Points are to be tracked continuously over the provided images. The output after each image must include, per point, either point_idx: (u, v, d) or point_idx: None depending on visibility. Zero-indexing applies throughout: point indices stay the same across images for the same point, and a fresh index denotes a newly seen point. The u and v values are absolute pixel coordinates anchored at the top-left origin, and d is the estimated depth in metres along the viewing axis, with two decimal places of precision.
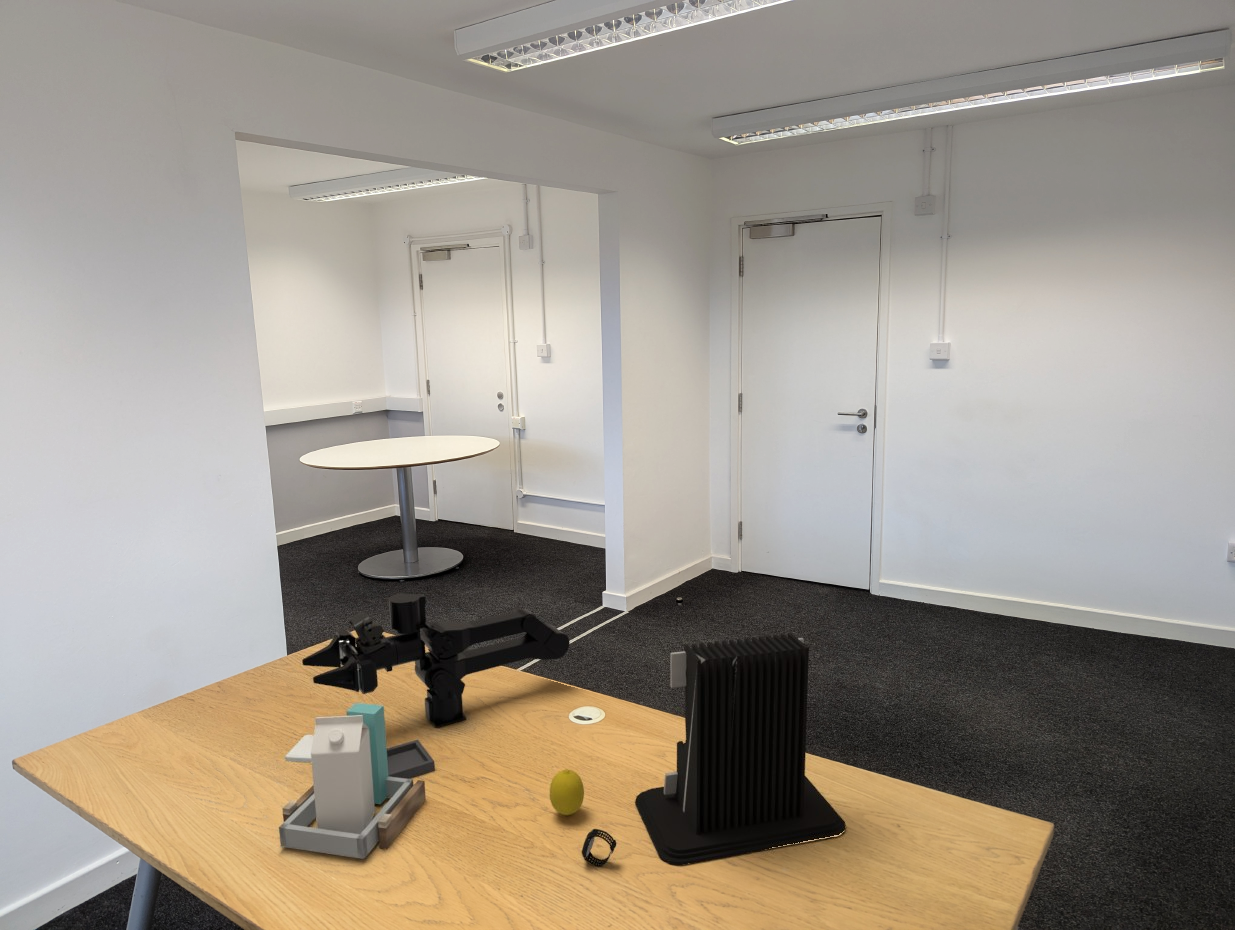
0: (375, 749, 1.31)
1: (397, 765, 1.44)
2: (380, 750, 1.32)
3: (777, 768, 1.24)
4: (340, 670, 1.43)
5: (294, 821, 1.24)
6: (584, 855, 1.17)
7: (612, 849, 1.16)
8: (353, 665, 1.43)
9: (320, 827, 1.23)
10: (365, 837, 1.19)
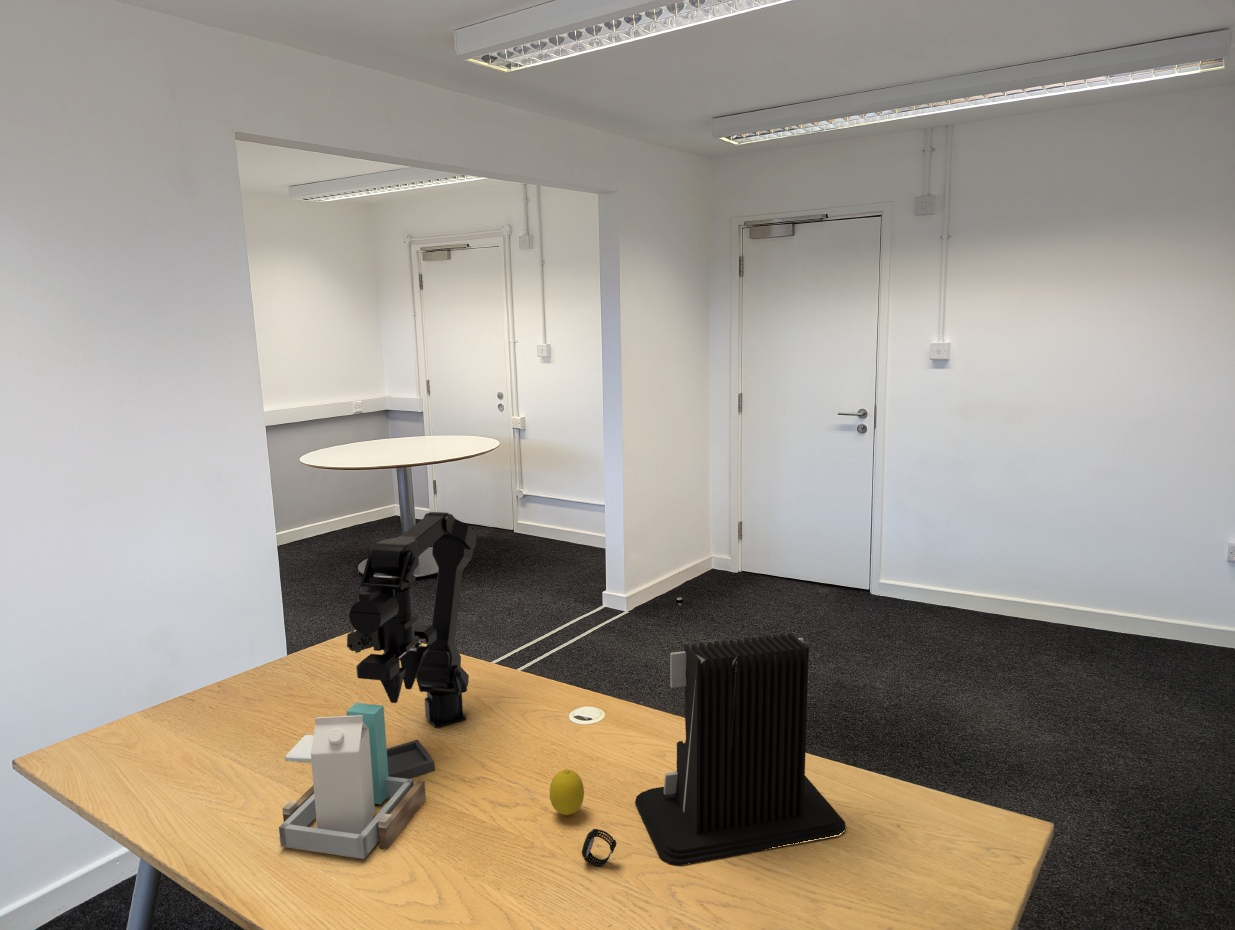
0: (375, 749, 1.31)
1: (397, 765, 1.44)
2: (380, 750, 1.32)
3: (777, 768, 1.24)
4: (381, 682, 1.39)
5: (294, 821, 1.24)
6: (584, 855, 1.17)
7: (612, 849, 1.16)
8: None
9: (320, 827, 1.23)
10: (365, 837, 1.19)
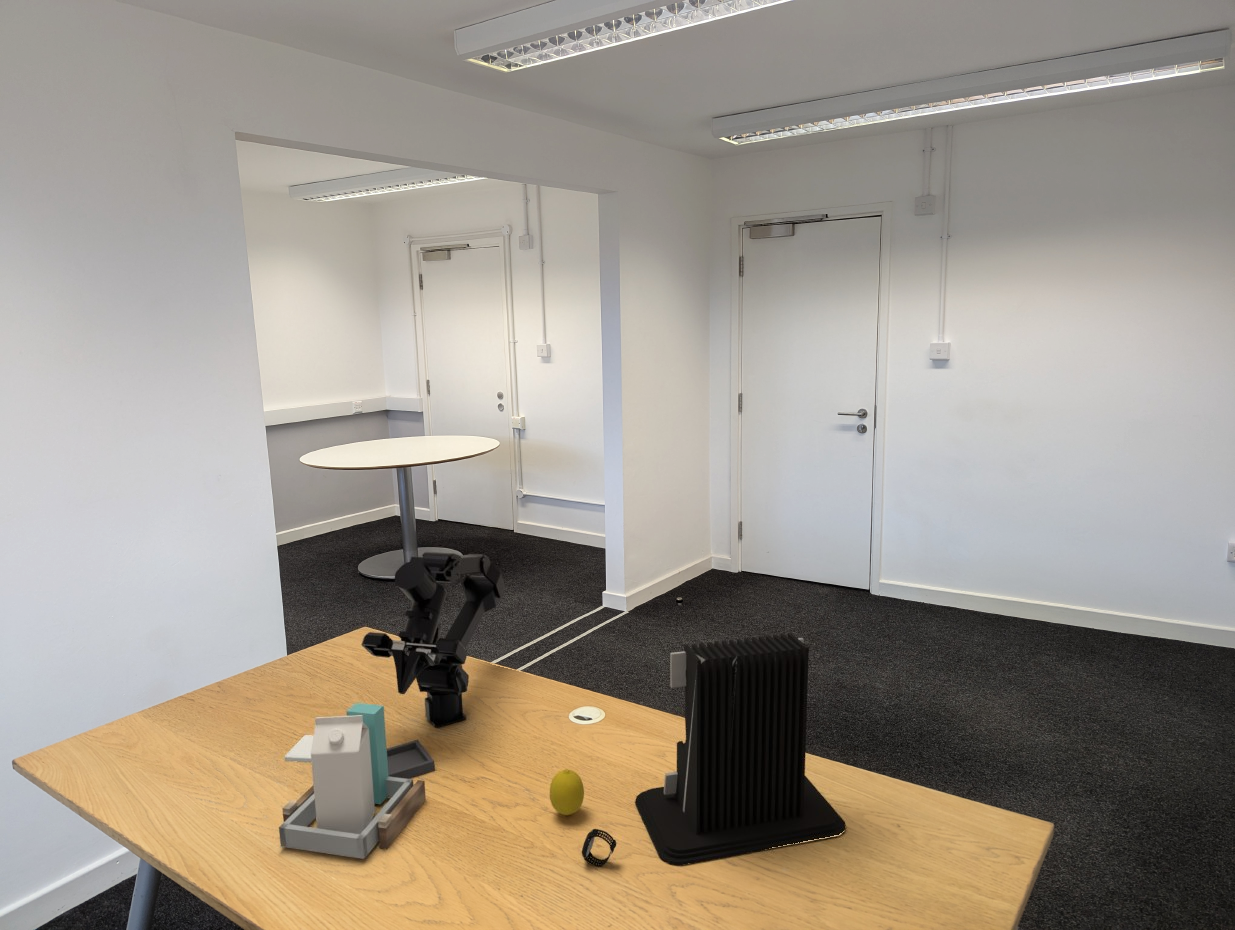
0: (375, 749, 1.31)
1: (397, 765, 1.44)
2: (380, 750, 1.32)
3: (777, 768, 1.24)
4: None
5: (294, 821, 1.24)
6: (584, 855, 1.17)
7: (612, 849, 1.16)
8: None
9: (320, 827, 1.23)
10: (365, 837, 1.19)
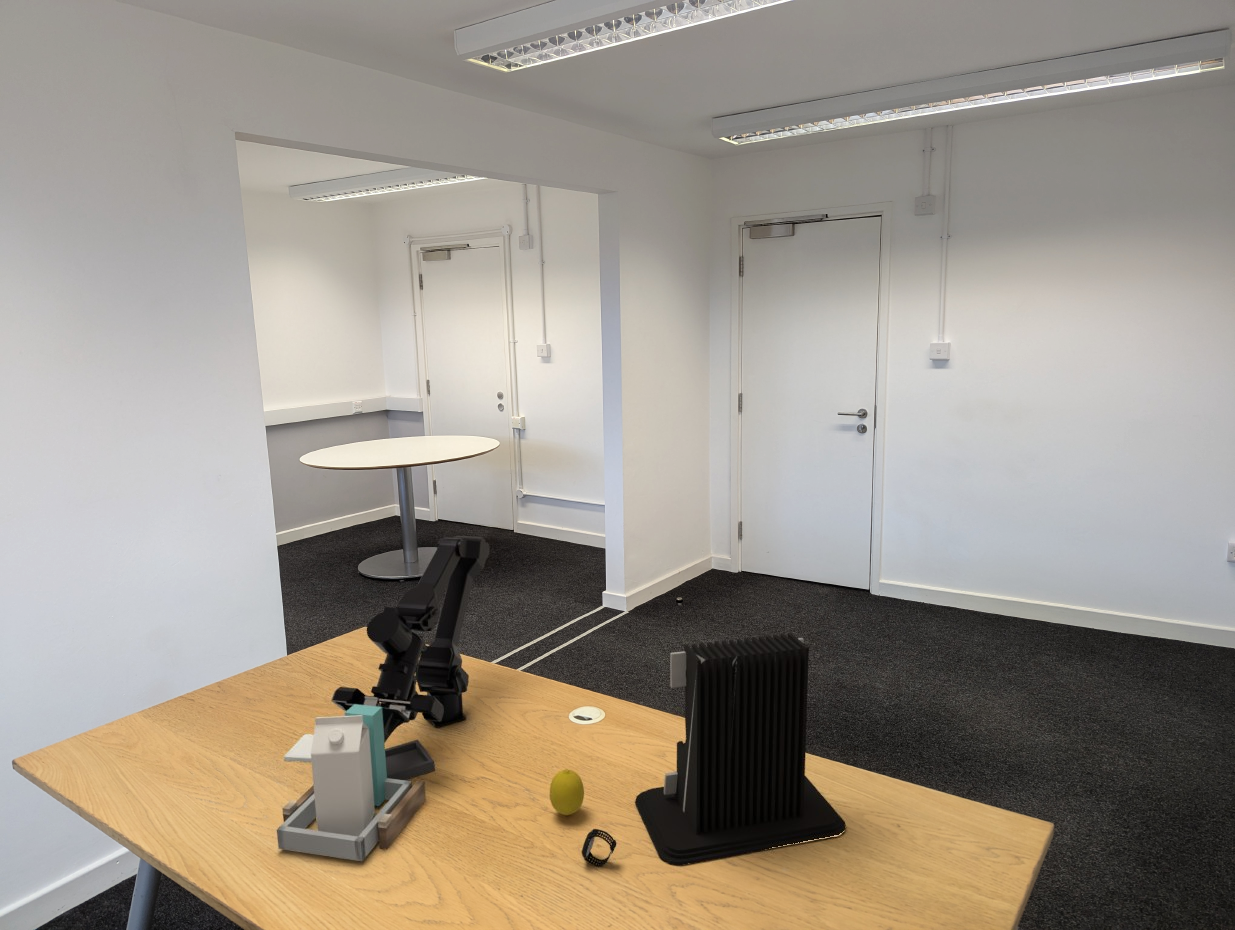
0: (373, 751, 1.30)
1: (397, 765, 1.44)
2: (378, 752, 1.31)
3: (777, 768, 1.24)
4: None
5: (292, 823, 1.23)
6: (584, 855, 1.17)
7: (612, 849, 1.16)
8: None
9: (320, 827, 1.23)
10: (363, 839, 1.19)
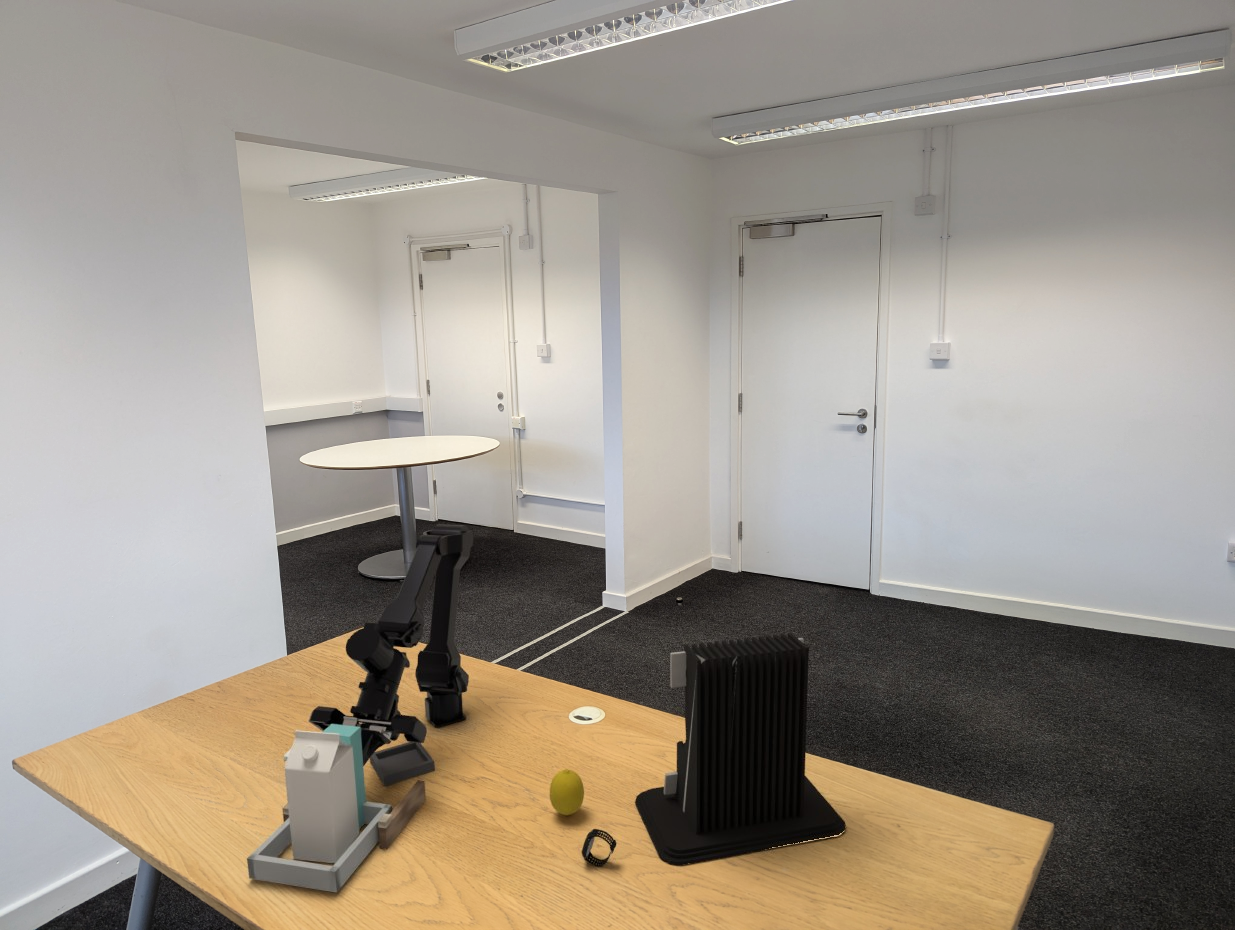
0: None
1: (397, 765, 1.44)
2: (356, 774, 1.25)
3: (777, 768, 1.24)
4: None
5: (264, 851, 1.17)
6: (584, 855, 1.17)
7: (612, 849, 1.16)
8: None
9: (294, 844, 1.19)
10: (338, 869, 1.12)
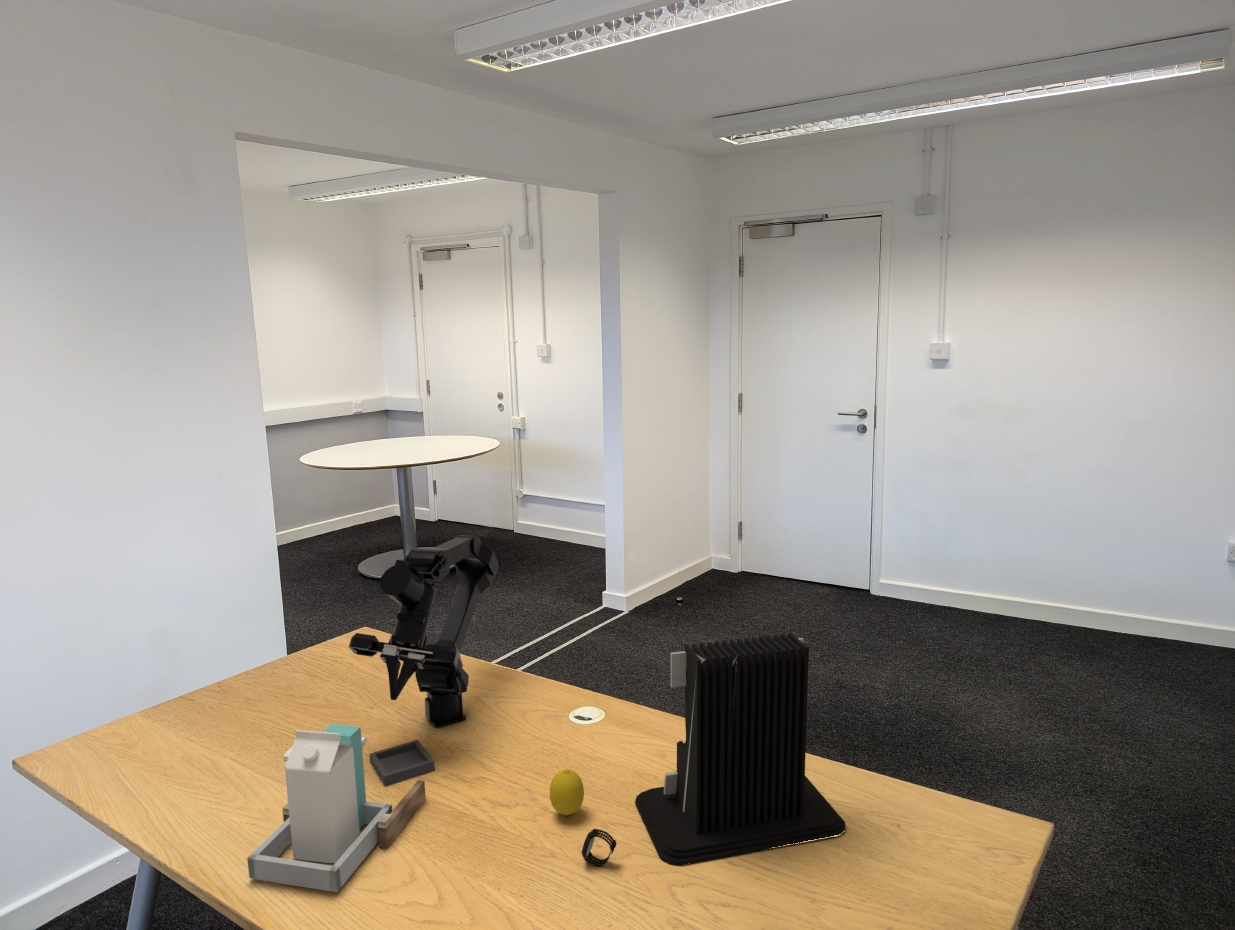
0: None
1: (397, 765, 1.44)
2: (357, 774, 1.25)
3: (777, 768, 1.24)
4: None
5: (264, 851, 1.17)
6: (584, 855, 1.17)
7: (612, 849, 1.16)
8: None
9: (294, 844, 1.19)
10: (338, 869, 1.12)
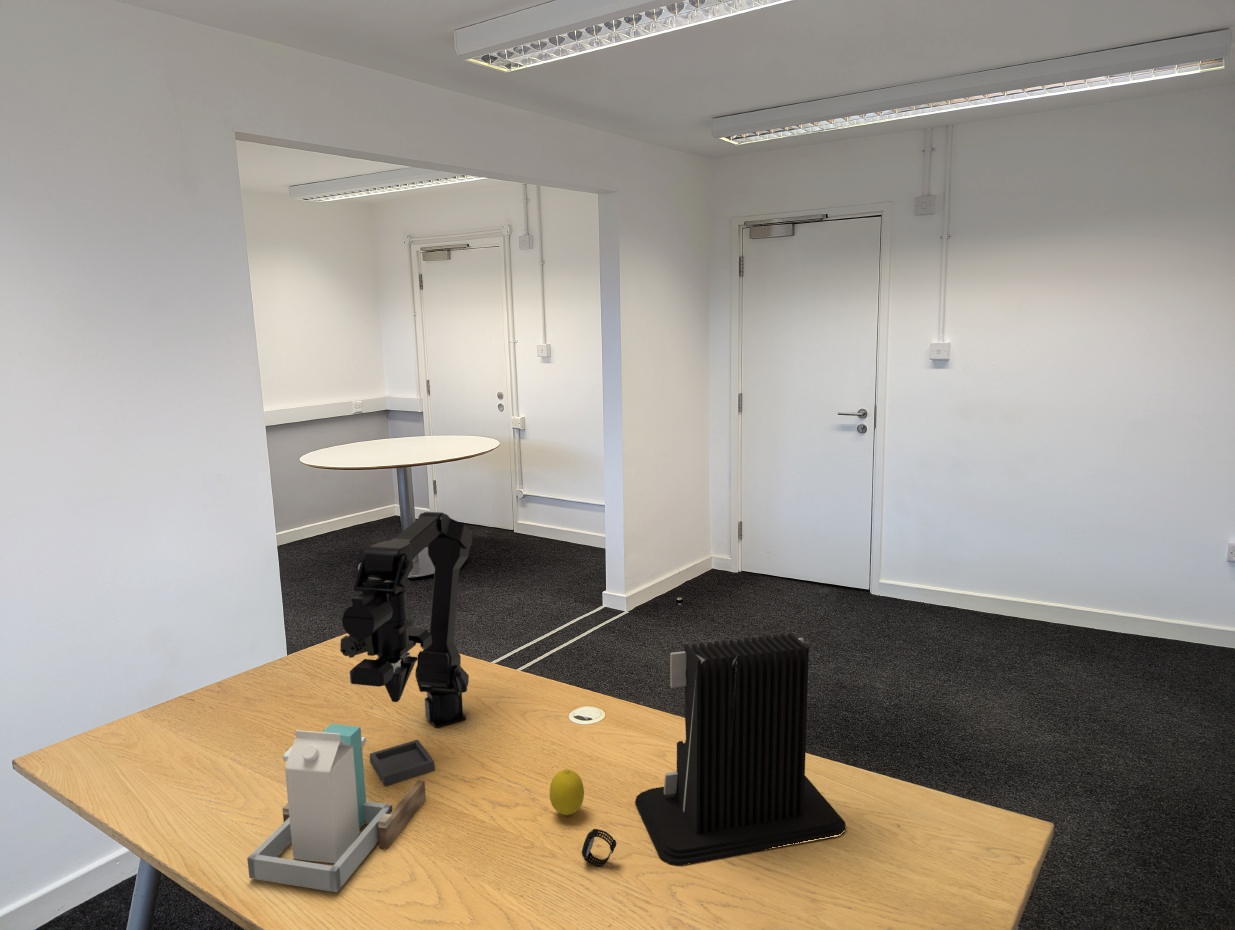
0: None
1: (397, 765, 1.44)
2: (357, 774, 1.25)
3: (777, 768, 1.24)
4: None
5: (264, 851, 1.17)
6: (584, 855, 1.17)
7: (612, 849, 1.16)
8: None
9: (294, 844, 1.19)
10: (338, 869, 1.12)
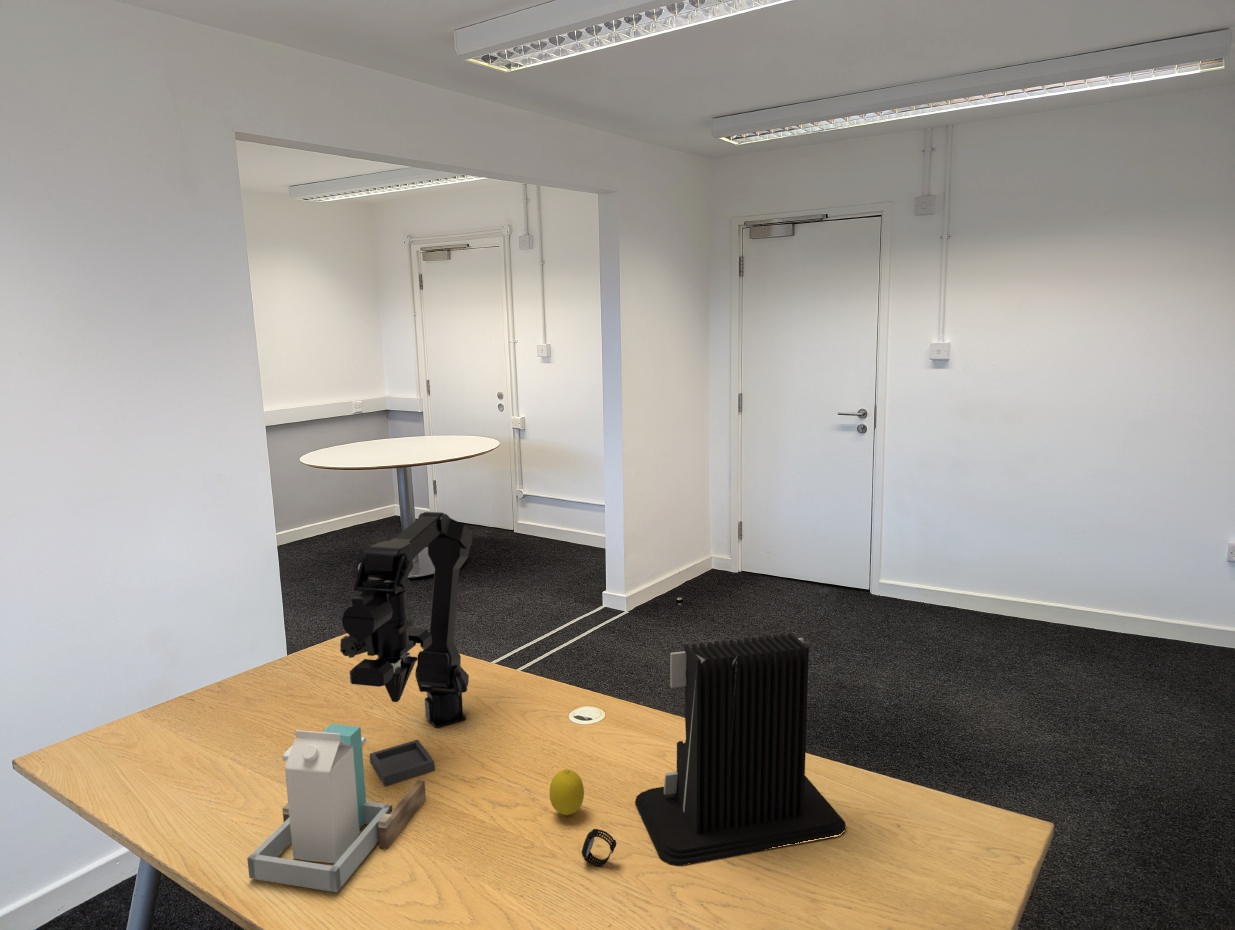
0: None
1: (397, 765, 1.44)
2: (357, 774, 1.25)
3: (777, 768, 1.24)
4: None
5: (264, 851, 1.17)
6: (584, 855, 1.17)
7: (612, 849, 1.16)
8: None
9: (294, 844, 1.19)
10: (338, 869, 1.12)
